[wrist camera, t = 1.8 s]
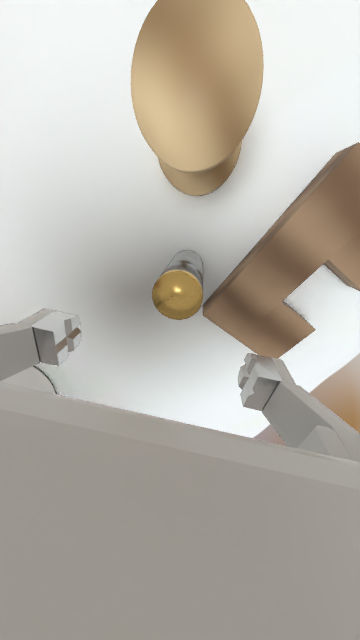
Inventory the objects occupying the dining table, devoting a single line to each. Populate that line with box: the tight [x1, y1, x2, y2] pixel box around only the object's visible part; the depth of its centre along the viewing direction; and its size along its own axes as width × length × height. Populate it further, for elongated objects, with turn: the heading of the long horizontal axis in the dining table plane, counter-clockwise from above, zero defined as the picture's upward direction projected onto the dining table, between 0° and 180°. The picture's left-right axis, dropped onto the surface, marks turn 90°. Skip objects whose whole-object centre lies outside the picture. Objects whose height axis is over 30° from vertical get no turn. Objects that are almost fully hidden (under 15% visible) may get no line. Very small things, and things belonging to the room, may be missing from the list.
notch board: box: [203, 142, 360, 359], centre depth 22 cm, size 20×12×3 cm, turn 145°
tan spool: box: [131, 0, 263, 196], centre depth 15 cm, size 8×8×10 cm
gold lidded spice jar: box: [152, 250, 203, 320], centre depth 20 cm, size 4×4×11 cm
